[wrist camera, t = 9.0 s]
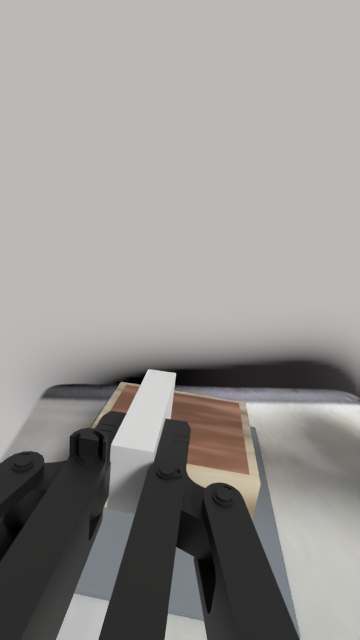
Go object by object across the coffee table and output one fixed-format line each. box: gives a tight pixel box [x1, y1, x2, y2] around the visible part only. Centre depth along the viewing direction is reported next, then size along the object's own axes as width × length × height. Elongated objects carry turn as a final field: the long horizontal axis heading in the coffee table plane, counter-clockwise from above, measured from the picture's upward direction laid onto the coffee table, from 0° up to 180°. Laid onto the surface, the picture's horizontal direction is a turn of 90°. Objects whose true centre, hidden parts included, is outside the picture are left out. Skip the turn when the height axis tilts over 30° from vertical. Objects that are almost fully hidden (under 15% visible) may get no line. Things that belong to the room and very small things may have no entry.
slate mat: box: [74, 402, 300, 639], centre depth 39 cm, size 28×24×1 cm
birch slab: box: [91, 382, 261, 520], centre depth 40 cm, size 6×18×16 cm
